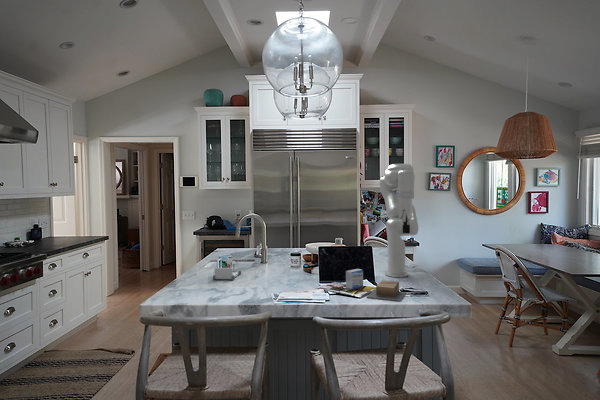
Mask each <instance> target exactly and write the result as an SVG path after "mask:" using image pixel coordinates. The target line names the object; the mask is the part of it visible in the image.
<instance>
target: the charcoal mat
mask: <svg viewBox="0 0 600 400" xmlns="http://www.w3.org/2000/svg"><path fill="white" fill-rule="evenodd" d="M406 294H407V292H406V291H398V292H397V293H396V295H395V296H394V297H385V296H377V295H376V288H374V289H372V291H371V292H370V293H369V294H368V295H367V296H366V299H372V300H373V299H374V300H383V301H390V302H391V301H392V302H398V303H399V302H400V303H401V302H402V300H403V299H404V297H405V296H406Z"/></svg>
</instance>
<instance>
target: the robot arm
mask: <svg viewBox="0 0 600 400" xmlns="http://www.w3.org/2000/svg"><path fill="white" fill-rule="evenodd" d="M415 178H416V177H415V173H414V168H413V165H411V164H410V163H392V164H389V166H387V168H386V169H385V171H384V175H383V176H381V178H380V179H379V189H380V194H381V195H382V197H383V199H384V203H385V212H386V216H387V218H388V220H387V221H386V223H385V230H386V236H387V237H386V239H387V270H386V271H384V275H385V276H386V277H387V276H388V277H391V278H392V277H393V278H404V277H407V276H409V272H407V271H406V244H405V241H404V239H402V237H403V236H406V237H407V236H415V235H417V234H418V232H419V223H418V217H417V212H416V208H415V206H414V204H413V200H414V199H415ZM395 190H396V191H397V193H396V192H394V191H395Z"/></svg>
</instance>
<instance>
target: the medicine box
mask: <svg viewBox="0 0 600 400" xmlns="http://www.w3.org/2000/svg"><path fill="white" fill-rule="evenodd" d="M363 287H364V270H363V269H360V268H355V269H349V270H345V288H347V289H349V290H357V289H359V288H363Z"/></svg>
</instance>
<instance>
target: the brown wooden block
mask: <svg viewBox="0 0 600 400" xmlns="http://www.w3.org/2000/svg"><path fill="white" fill-rule="evenodd" d="M375 289H376V295H377V296H385V297H394V296H395V295H396V293H397V292H400V282H399V281H395V280H381V281H380V282H379V283H378V284H377V285H376V286H375Z"/></svg>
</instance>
